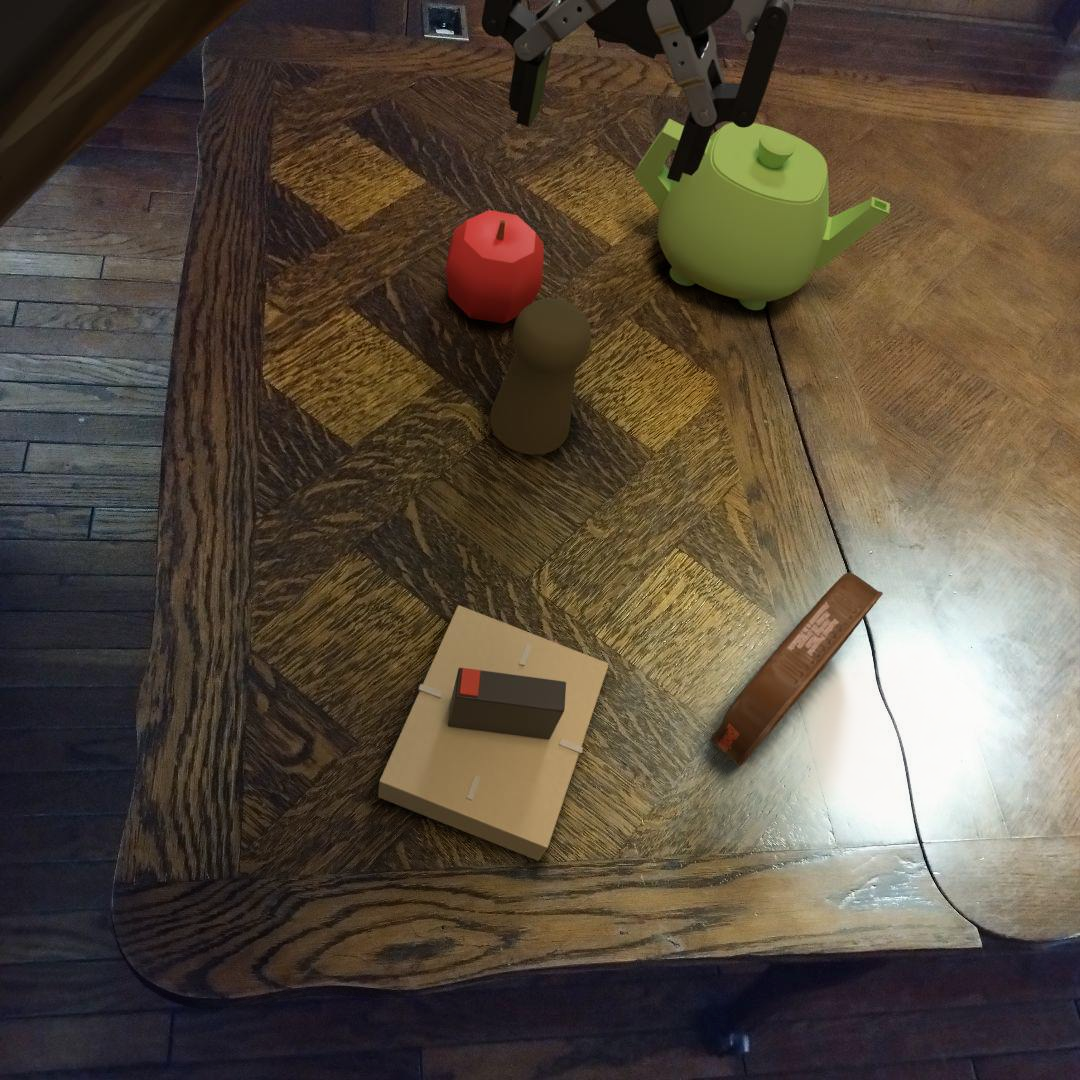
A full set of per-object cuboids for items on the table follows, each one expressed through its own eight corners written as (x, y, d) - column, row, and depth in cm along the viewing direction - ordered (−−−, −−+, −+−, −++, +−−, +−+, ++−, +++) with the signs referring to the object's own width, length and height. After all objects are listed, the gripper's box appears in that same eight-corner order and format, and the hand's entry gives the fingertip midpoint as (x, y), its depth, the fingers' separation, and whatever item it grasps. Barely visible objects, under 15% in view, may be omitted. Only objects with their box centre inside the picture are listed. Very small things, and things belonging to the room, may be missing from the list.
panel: (540, 862, 57) (550, 848, 54) (375, 796, 57) (377, 779, 54) (600, 683, 63) (611, 662, 60) (452, 625, 63) (457, 602, 61)
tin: (724, 786, 61) (774, 739, 54) (686, 751, 62) (730, 700, 55) (850, 636, 68) (909, 577, 61) (814, 606, 69) (867, 545, 62)
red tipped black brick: (552, 710, 58) (567, 679, 54) (549, 740, 57) (565, 709, 53) (451, 697, 58) (459, 664, 54) (447, 726, 57) (455, 695, 53)
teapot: (845, 254, 89) (913, 135, 79) (824, 356, 82) (896, 240, 71) (637, 180, 90) (677, 52, 79) (598, 275, 82) (636, 147, 72)
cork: (473, 423, 72) (492, 318, 63) (520, 377, 75) (545, 269, 66) (540, 468, 71) (569, 368, 62) (585, 419, 74) (619, 316, 65)
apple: (455, 344, 76) (466, 266, 69) (427, 270, 79) (435, 189, 73) (551, 330, 78) (571, 254, 72) (520, 259, 82) (536, 180, 75)
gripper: (872, -178, 41) (740, 151, 55) (554, -292, 42) (501, 63, 55) (845, -101, 37) (710, 234, 51) (492, -228, 37) (452, 138, 51)
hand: (601, 144), depth 53 cm, fingers open, 8 cm apart
